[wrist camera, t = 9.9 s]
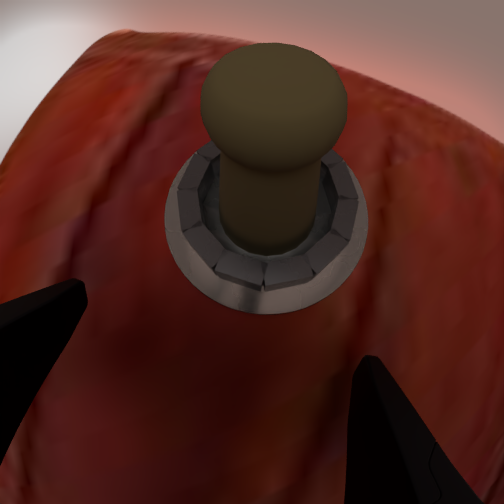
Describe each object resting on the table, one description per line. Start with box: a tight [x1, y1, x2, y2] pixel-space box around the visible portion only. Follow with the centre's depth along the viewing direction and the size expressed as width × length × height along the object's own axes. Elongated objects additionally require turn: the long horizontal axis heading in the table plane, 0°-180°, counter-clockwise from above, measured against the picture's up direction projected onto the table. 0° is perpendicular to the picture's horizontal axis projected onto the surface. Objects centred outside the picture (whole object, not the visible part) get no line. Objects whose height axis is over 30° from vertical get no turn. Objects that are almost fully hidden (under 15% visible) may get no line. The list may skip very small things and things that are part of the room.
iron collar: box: [165, 140, 368, 315], centre depth 18 cm, size 13×13×3 cm
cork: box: [201, 43, 347, 256], centre depth 13 cm, size 6×6×11 cm
